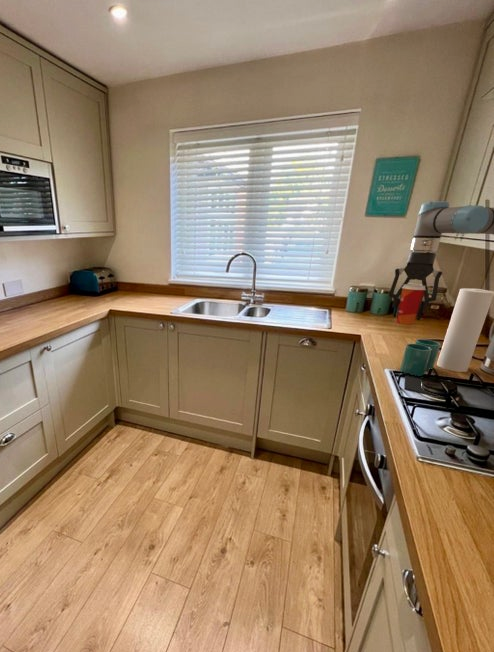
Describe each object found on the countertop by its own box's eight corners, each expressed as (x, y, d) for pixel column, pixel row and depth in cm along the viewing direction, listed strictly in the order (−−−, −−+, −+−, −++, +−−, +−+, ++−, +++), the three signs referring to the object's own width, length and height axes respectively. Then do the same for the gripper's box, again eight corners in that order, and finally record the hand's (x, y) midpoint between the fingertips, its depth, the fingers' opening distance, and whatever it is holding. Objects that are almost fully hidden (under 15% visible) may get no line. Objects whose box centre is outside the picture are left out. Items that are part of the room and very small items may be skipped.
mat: (446, 385, 111) (447, 384, 111) (449, 399, 102) (450, 398, 102) (404, 376, 117) (405, 375, 117) (404, 389, 108) (404, 388, 108)
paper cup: (397, 319, 125) (406, 282, 120) (420, 323, 120) (430, 284, 115) (389, 322, 120) (397, 284, 116) (412, 327, 115) (423, 286, 110)
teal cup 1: (423, 371, 122) (431, 346, 119) (424, 378, 116) (432, 352, 113) (400, 367, 126) (406, 342, 122) (399, 373, 120) (406, 347, 117)
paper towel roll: (471, 369, 126) (499, 290, 115) (460, 373, 121) (488, 292, 111) (443, 360, 133) (467, 286, 123) (432, 365, 129) (455, 287, 118)
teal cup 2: (432, 366, 128) (439, 341, 124) (433, 372, 122) (441, 346, 118) (409, 361, 132) (416, 337, 128) (409, 367, 126) (416, 342, 122)
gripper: (389, 250, 114) (374, 316, 121) (460, 253, 103) (440, 324, 111) (390, 250, 119) (376, 312, 127) (458, 252, 109) (438, 320, 117)
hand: (406, 318), depth 119 cm, fingers closed on paper cup, 7 cm apart
